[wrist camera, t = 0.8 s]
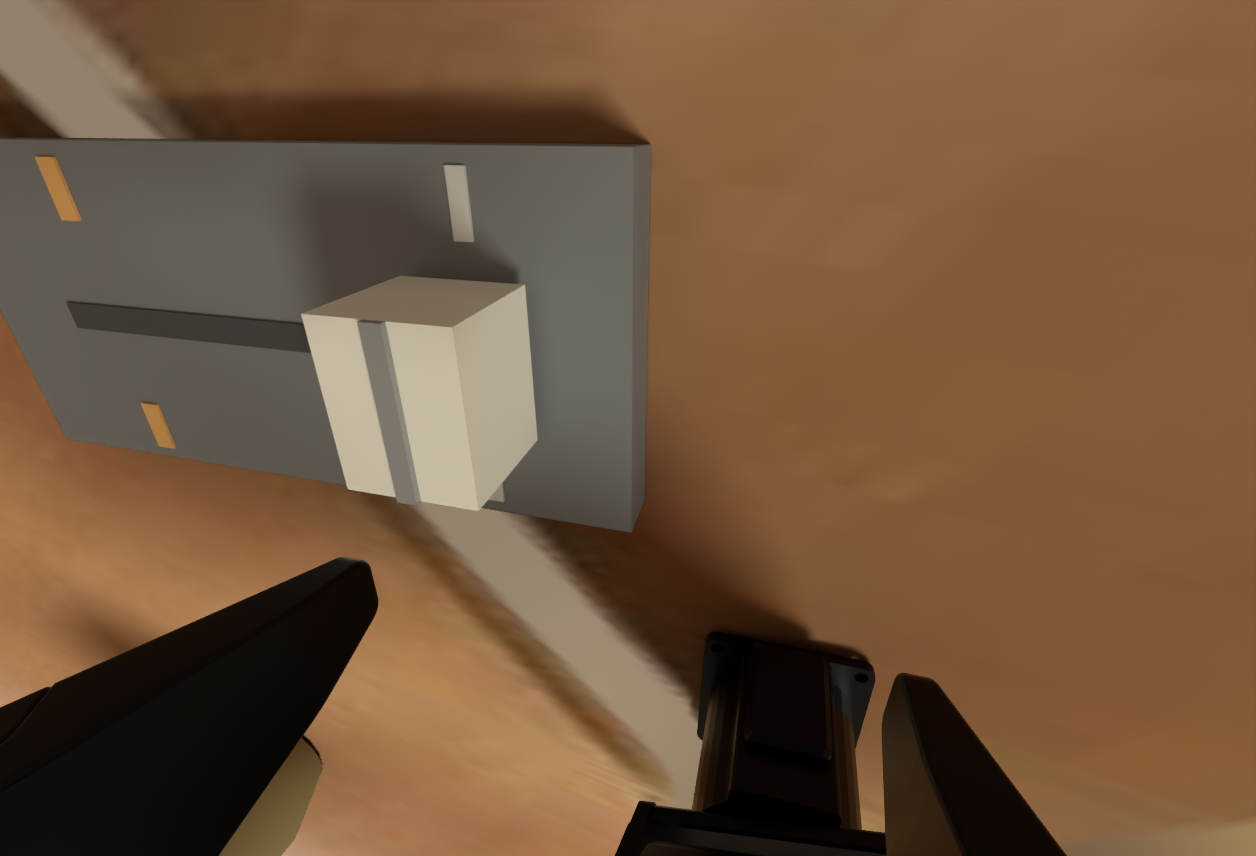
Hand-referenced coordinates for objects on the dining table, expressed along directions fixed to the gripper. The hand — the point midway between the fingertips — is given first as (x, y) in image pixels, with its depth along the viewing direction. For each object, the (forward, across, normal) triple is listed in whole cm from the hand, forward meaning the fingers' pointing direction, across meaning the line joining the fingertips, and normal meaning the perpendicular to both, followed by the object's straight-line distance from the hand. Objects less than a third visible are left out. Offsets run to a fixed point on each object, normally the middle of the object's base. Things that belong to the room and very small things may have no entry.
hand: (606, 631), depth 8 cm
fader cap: (+9, +7, 0) cm, 12 cm away
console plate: (+12, +15, 0) cm, 19 cm away
